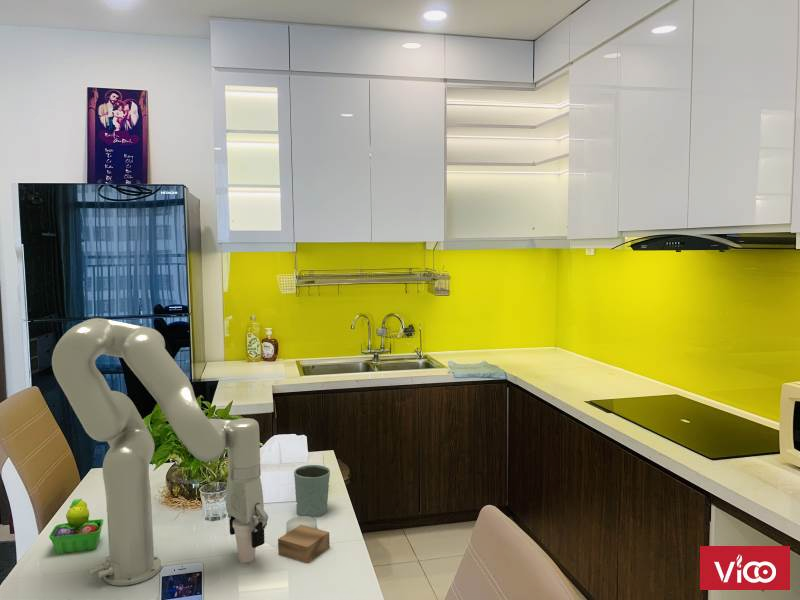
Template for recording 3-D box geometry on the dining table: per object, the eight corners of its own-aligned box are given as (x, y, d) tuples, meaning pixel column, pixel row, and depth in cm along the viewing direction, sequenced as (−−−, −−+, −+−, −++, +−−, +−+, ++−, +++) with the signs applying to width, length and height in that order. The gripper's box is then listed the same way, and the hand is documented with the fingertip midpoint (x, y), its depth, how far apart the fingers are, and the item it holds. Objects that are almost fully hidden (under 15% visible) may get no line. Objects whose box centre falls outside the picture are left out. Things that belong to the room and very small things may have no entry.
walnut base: (307, 563, 152) (307, 547, 152) (278, 554, 157) (278, 538, 156) (329, 547, 160) (329, 532, 160) (301, 539, 165) (300, 524, 164)
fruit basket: (49, 557, 156) (46, 513, 155) (58, 541, 165) (55, 499, 164) (99, 551, 159) (97, 507, 158) (106, 535, 168) (103, 494, 167)
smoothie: (253, 566, 151) (252, 509, 150) (228, 564, 152) (226, 507, 151) (264, 553, 157) (263, 498, 156) (240, 551, 159) (239, 497, 157)
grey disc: (298, 541, 163) (298, 532, 163) (280, 531, 169) (280, 522, 169) (323, 531, 169) (322, 522, 169) (304, 522, 175) (304, 513, 175)
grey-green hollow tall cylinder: (293, 506, 185) (292, 466, 184) (327, 502, 188) (326, 462, 187) (297, 521, 176) (296, 479, 174) (333, 516, 178) (332, 475, 177)
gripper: (211, 466, 156) (214, 533, 158) (250, 484, 144) (253, 556, 146) (238, 458, 162) (241, 523, 163) (278, 475, 150) (280, 545, 151)
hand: (246, 539), depth 154 cm, fingers open, 9 cm apart
